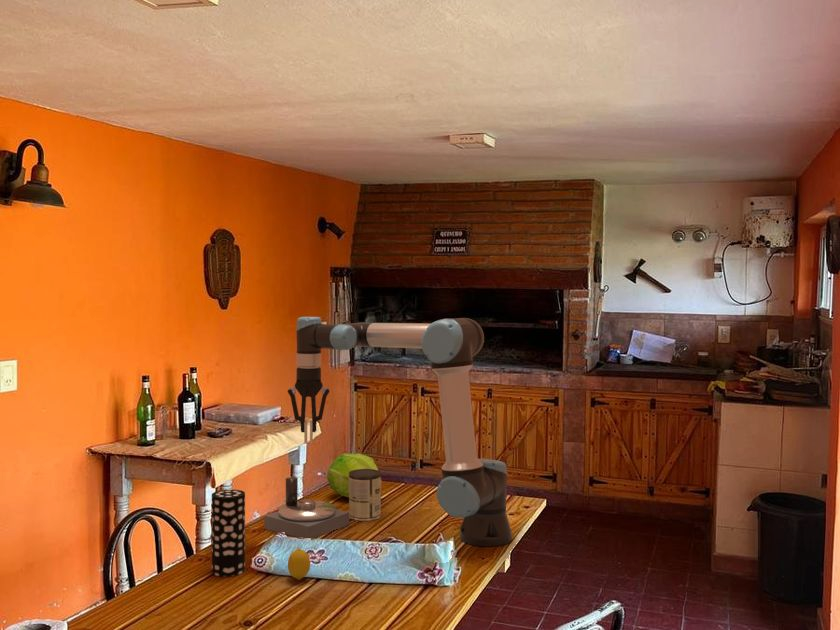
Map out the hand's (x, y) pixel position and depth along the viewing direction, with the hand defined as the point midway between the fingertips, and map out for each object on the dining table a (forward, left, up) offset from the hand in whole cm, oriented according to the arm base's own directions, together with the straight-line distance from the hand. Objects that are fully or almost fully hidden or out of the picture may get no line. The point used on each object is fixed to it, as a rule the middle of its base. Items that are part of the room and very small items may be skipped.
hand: (308, 442), depth 249 cm
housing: (-4, +5, -24) cm, 25 cm away
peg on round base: (-4, +5, -20) cm, 21 cm away
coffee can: (-11, -14, -25) cm, 30 cm away
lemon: (-32, +38, -25) cm, 56 cm away
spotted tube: (-13, +44, -25) cm, 52 cm away
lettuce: (+5, -29, -25) cm, 38 cm away
